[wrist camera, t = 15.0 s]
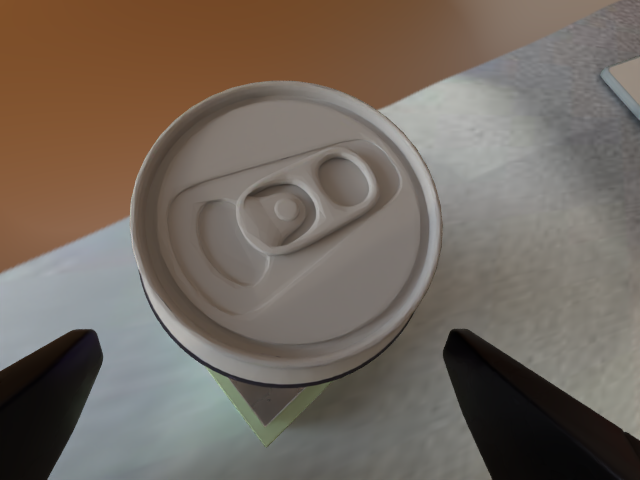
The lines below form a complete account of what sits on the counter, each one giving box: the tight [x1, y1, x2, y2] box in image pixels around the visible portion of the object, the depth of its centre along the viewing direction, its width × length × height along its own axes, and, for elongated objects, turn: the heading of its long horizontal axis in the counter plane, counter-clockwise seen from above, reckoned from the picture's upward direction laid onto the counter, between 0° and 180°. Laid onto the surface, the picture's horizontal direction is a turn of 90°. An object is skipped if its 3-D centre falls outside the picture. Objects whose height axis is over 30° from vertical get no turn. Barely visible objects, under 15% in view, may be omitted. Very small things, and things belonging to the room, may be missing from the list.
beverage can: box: [130, 81, 443, 388], centre depth 10 cm, size 6×6×12 cm
